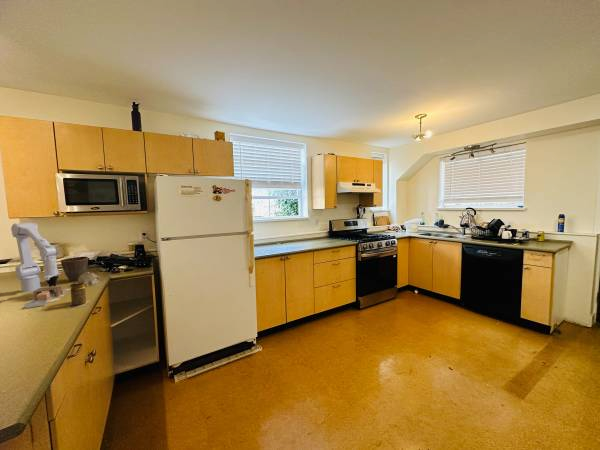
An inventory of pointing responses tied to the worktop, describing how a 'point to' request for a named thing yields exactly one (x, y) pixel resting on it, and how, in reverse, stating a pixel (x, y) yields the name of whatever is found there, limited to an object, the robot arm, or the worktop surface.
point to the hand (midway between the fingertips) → (52, 288)
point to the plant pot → (74, 267)
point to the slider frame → (41, 302)
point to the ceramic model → (89, 279)
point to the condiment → (78, 295)
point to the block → (43, 296)
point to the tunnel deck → (58, 294)
